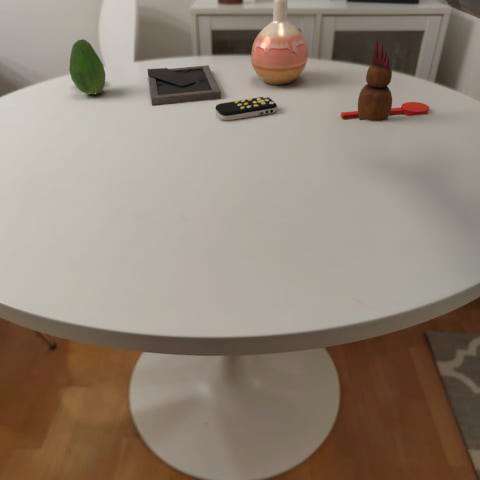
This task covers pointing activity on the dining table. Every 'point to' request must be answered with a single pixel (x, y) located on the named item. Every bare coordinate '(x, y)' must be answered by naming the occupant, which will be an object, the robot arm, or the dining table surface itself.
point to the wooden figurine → (376, 89)
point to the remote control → (245, 108)
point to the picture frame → (182, 85)
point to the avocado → (86, 68)
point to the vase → (279, 49)
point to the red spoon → (397, 110)
